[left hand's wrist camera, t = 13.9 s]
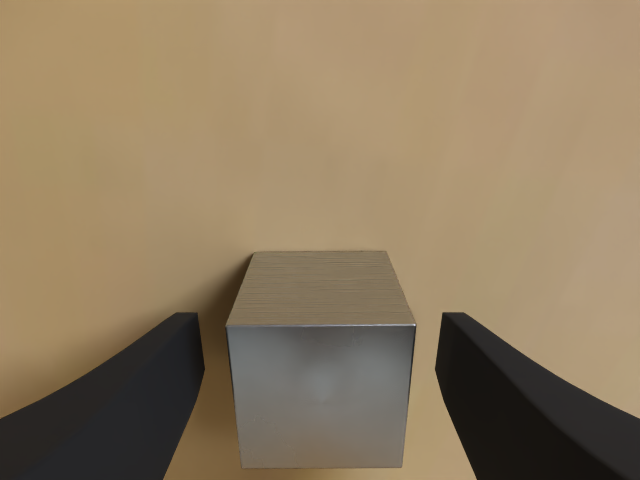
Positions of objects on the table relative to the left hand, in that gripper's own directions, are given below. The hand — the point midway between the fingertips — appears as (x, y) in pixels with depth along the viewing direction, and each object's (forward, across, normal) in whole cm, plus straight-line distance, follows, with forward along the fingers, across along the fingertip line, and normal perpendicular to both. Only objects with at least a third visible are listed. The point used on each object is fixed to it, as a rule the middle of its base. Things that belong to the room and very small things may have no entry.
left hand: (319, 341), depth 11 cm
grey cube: (+2, 0, 0) cm, 2 cm away
